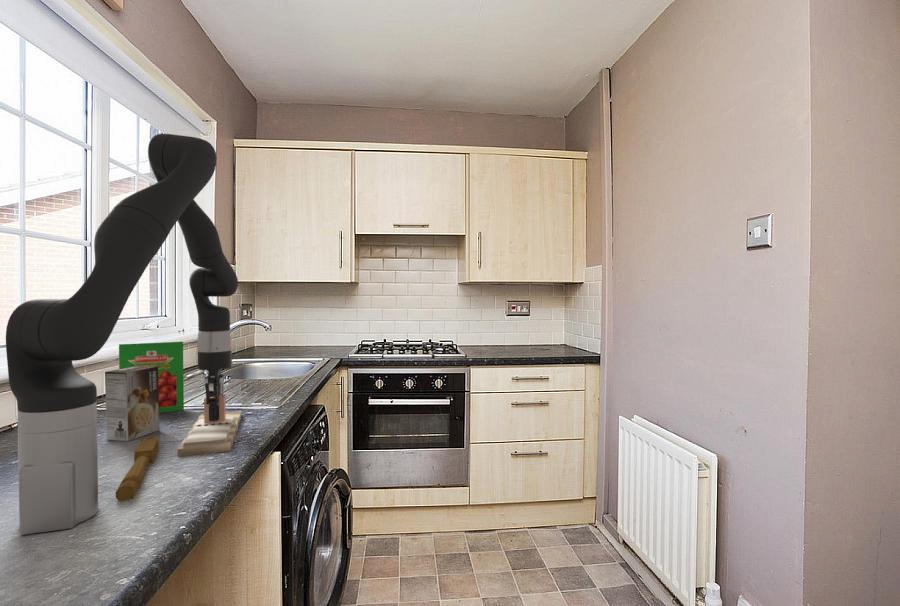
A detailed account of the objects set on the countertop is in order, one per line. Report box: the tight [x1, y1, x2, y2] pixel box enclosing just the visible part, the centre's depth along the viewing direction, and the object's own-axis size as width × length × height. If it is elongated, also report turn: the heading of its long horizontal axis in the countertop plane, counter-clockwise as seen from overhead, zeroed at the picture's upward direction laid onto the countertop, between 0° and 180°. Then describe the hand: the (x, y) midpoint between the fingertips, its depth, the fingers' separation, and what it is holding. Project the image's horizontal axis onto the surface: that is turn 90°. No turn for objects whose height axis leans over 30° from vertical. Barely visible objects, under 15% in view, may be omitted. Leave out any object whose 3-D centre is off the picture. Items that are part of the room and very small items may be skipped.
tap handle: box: [115, 435, 160, 502], centre depth 91 cm, size 3×3×30 cm
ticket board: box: [177, 410, 243, 457], centre depth 115 cm, size 30×10×3 cm, turn 20°
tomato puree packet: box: [118, 341, 185, 414], centre depth 133 cm, size 15×1×20 cm, turn 120°
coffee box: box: [104, 366, 161, 442], centre depth 113 cm, size 9×6×16 cm
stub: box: [194, 394, 234, 426], centre depth 117 cm, size 6×8×7 cm
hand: (215, 418), depth 117 cm, fingers closed on stub, 3 cm apart
